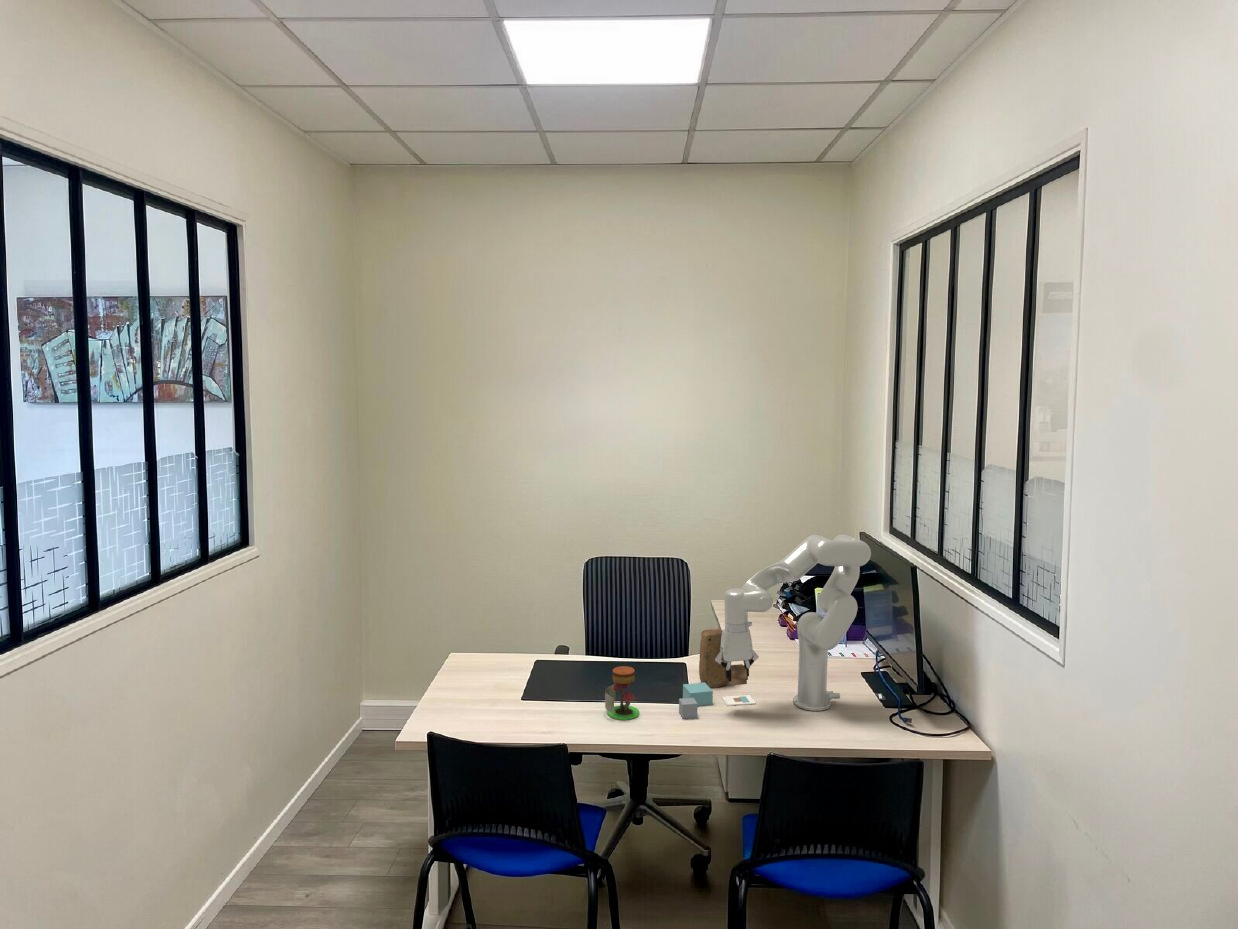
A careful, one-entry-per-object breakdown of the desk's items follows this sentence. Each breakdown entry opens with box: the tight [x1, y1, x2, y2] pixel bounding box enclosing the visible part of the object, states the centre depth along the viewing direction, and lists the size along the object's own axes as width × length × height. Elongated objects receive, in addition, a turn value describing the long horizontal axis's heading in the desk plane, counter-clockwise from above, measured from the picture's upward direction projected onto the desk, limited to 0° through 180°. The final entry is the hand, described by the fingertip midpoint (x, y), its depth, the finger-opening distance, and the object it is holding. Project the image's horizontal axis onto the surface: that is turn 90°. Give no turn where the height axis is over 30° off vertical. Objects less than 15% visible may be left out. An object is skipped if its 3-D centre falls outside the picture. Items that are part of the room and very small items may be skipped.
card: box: [721, 694, 757, 707], centre depth 285 cm, size 10×7×1 cm
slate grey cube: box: [678, 697, 698, 720], centre depth 273 cm, size 5×5×5 cm
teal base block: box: [682, 682, 714, 707], centre depth 285 cm, size 8×8×5 cm
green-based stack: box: [604, 665, 640, 721], centre depth 274 cm, size 12×13×15 cm
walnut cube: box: [729, 663, 748, 686], centre depth 276 cm, size 5×5×5 cm
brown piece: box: [698, 628, 730, 689], centre depth 299 cm, size 11×8×20 cm
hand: (737, 678), depth 276 cm, fingers closed on walnut cube, 5 cm apart
